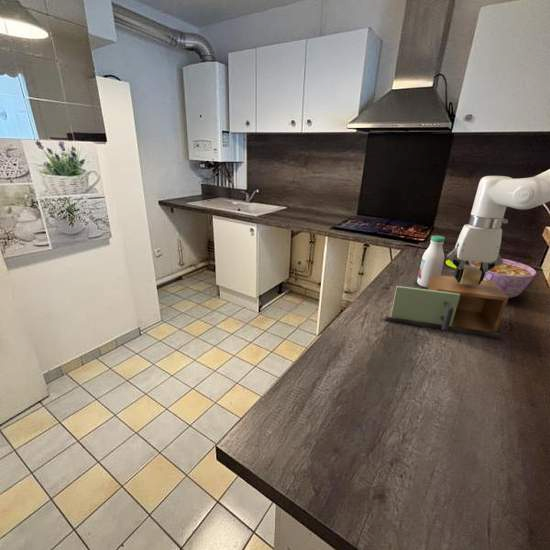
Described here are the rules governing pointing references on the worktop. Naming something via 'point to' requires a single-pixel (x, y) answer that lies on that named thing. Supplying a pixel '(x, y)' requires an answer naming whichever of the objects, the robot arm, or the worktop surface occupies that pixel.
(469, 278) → the block
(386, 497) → the worktop surface
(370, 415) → the worktop surface
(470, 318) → the cupboard
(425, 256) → the milk bottle
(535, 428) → the worktop surface
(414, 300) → the sliding door
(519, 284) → the bowl of food
